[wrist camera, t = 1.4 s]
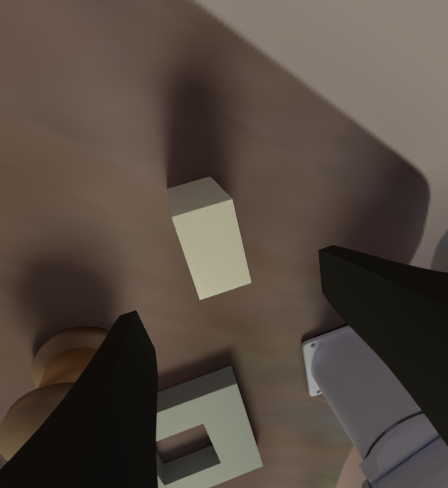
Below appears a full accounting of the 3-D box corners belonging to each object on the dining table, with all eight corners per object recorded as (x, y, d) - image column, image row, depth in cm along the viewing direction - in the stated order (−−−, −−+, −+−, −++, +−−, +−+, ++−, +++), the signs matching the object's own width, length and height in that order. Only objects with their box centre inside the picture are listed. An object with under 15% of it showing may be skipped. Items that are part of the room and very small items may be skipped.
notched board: (231, 365, 26) (236, 383, 24) (257, 446, 32) (263, 465, 31) (81, 419, 25) (76, 442, 23) (138, 493, 31) (137, 516, 29)
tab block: (210, 176, 19) (232, 199, 13) (226, 241, 21) (251, 282, 16) (166, 188, 18) (171, 217, 13) (188, 253, 21) (199, 299, 15)
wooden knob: (111, 315, 21) (96, 380, 16) (143, 375, 24) (140, 447, 19) (16, 346, 21) (-32, 425, 15) (62, 404, 24) (35, 487, 18)
